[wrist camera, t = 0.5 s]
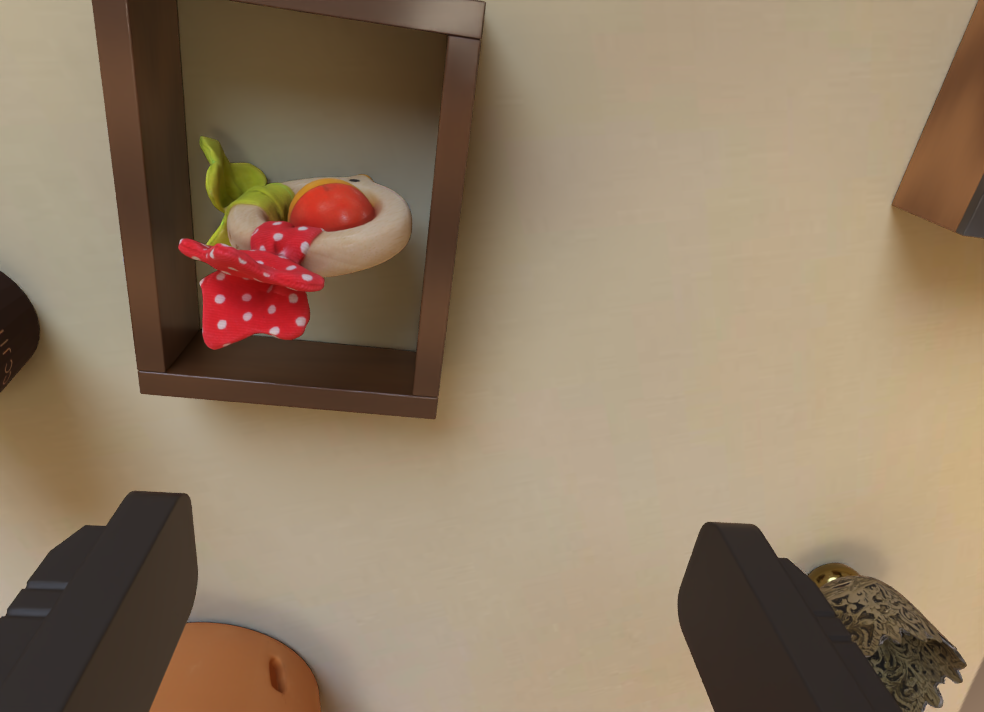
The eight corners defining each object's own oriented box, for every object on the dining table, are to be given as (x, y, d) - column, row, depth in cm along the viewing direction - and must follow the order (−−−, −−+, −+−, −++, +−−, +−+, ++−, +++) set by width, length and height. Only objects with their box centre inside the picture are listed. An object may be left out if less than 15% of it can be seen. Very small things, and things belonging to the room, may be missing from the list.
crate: (141, -52, 25) (82, -65, 21) (480, 3, 27) (485, 1, 23) (177, 348, 33) (139, 394, 29) (437, 373, 34) (435, 419, 30)
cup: (806, 526, 41) (880, 632, 34) (904, 547, 42) (994, 653, 35) (752, 607, 44) (809, 719, 37) (844, 624, 46) (916, 736, 39)
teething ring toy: (355, 109, 30) (143, 140, 27) (452, 140, 21) (153, 191, 18) (377, 239, 33) (189, 281, 30) (471, 314, 24) (217, 385, 21)
